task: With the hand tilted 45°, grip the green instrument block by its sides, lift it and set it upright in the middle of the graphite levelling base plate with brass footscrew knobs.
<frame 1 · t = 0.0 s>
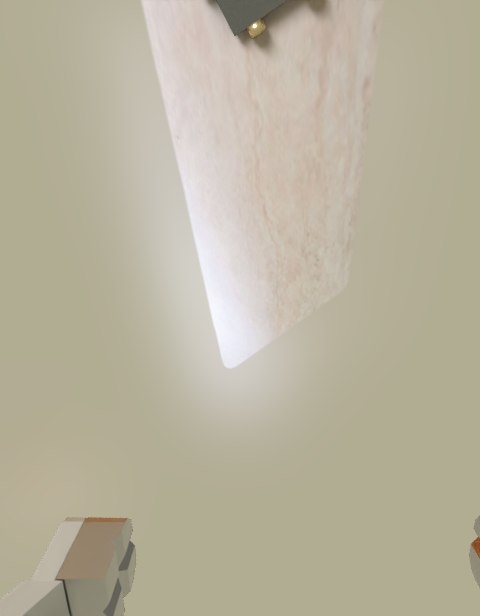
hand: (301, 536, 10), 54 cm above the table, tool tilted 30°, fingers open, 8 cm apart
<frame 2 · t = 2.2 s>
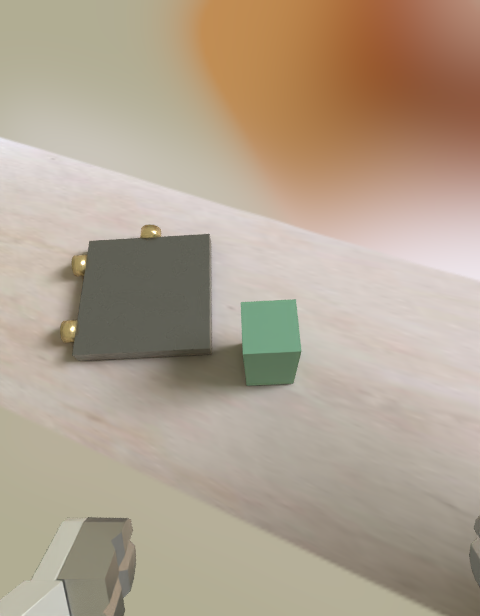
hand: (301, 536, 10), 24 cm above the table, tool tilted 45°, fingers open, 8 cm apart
instrument block: (268, 362, 36), on the table
level base plate: (149, 298, 40), on the table
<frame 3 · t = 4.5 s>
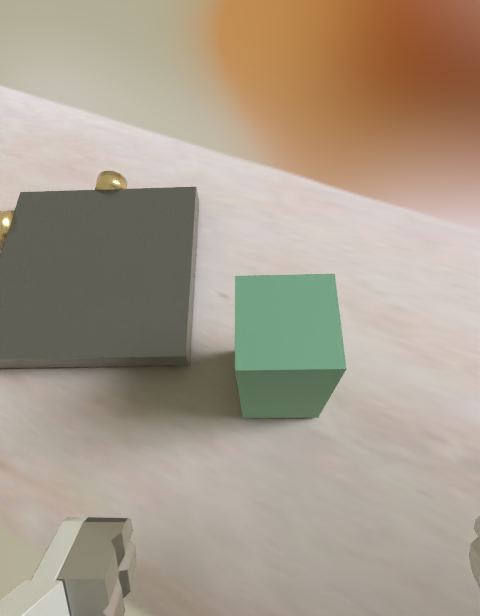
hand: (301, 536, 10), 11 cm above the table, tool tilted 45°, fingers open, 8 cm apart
instrument block: (278, 381, 23), on the table
level base plate: (101, 277, 26), on the table
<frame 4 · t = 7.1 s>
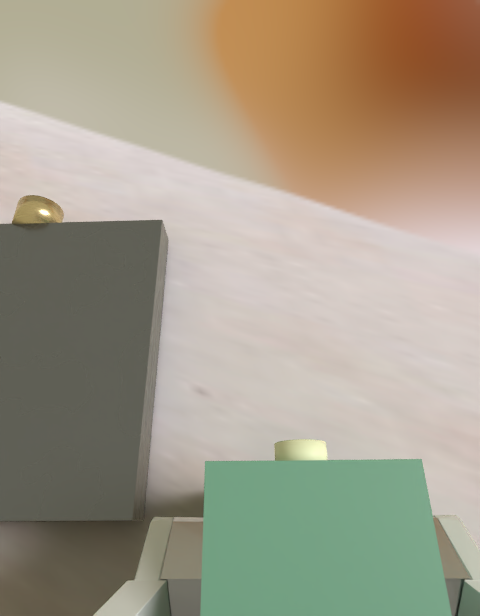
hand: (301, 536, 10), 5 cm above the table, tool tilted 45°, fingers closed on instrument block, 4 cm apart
instrument block: (288, 552, 14), on the table, touching gripper
level base plate: (15, 360, 17), on the table
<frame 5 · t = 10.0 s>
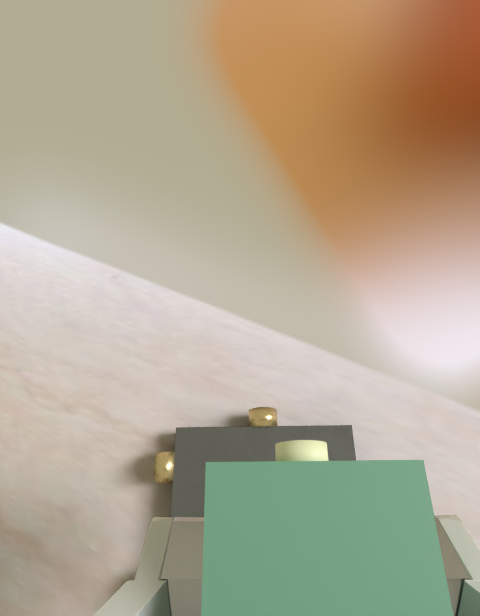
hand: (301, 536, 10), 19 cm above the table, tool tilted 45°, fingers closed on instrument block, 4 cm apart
instrument block: (288, 552, 14), point 14 cm above the table, touching gripper
level base plate: (265, 525, 27), on the table
when the fingers open (7 cm above the table, at t = 13.2 s): instrument block stays where it is, resting on level base plate.
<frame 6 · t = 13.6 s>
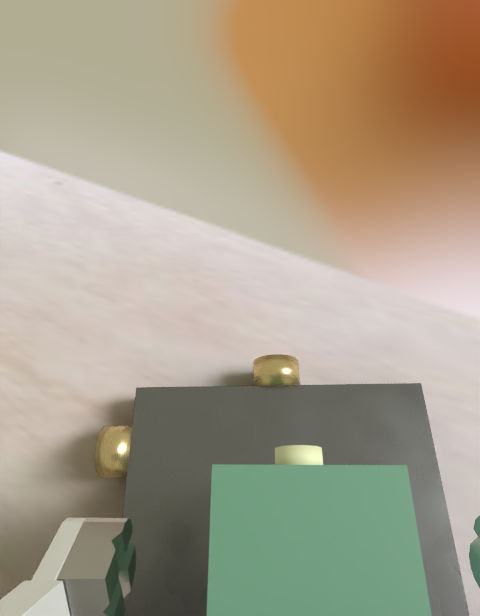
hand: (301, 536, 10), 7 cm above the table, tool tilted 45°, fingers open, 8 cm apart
instrument block: (286, 549, 15), point 1 cm above the table, touching level base plate
level base plate: (282, 546, 16), on the table
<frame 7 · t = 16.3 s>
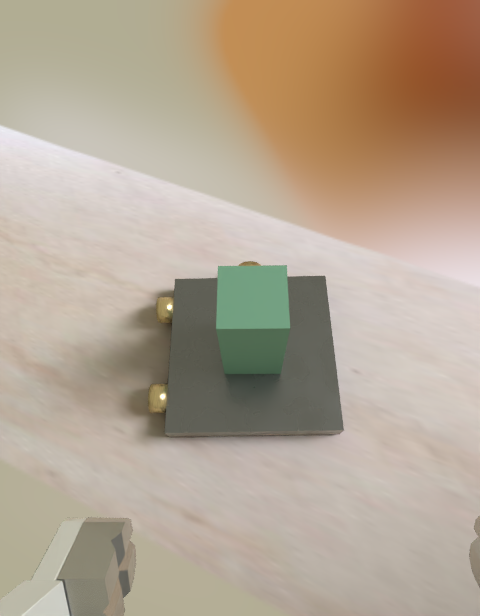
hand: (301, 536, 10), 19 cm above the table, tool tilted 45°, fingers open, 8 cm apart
instrument block: (252, 347, 30), point 1 cm above the table, touching level base plate
level base plate: (251, 354, 32), on the table
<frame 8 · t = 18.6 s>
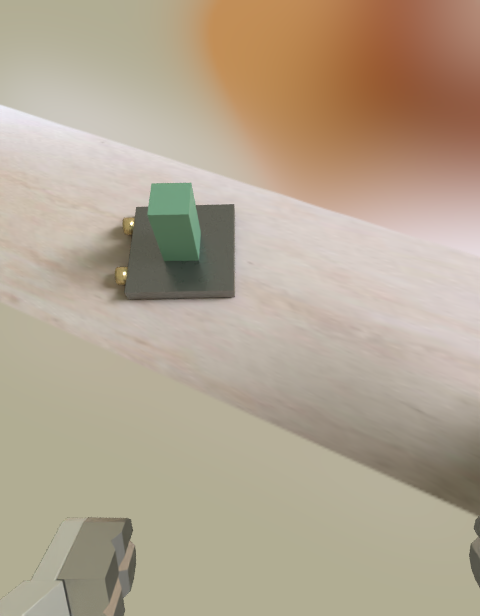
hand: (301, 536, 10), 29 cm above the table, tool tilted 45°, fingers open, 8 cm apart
instrument block: (182, 246, 48), point 1 cm above the table, touching level base plate
level base plate: (184, 253, 49), on the table
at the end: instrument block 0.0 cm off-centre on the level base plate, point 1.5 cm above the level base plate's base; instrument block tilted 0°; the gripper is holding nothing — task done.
